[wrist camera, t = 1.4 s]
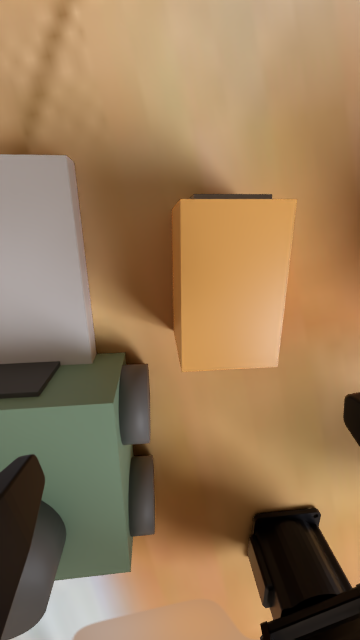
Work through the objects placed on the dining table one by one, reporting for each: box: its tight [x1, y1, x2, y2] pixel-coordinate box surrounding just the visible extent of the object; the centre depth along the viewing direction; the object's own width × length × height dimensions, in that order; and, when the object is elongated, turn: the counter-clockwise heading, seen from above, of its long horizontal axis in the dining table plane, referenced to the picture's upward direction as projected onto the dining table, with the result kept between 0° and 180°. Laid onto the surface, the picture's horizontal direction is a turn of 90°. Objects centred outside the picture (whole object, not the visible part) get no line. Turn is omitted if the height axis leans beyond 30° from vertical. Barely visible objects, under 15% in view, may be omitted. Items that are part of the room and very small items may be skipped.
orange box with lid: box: [172, 194, 297, 372], centre depth 15 cm, size 5×8×6 cm, turn 0°
